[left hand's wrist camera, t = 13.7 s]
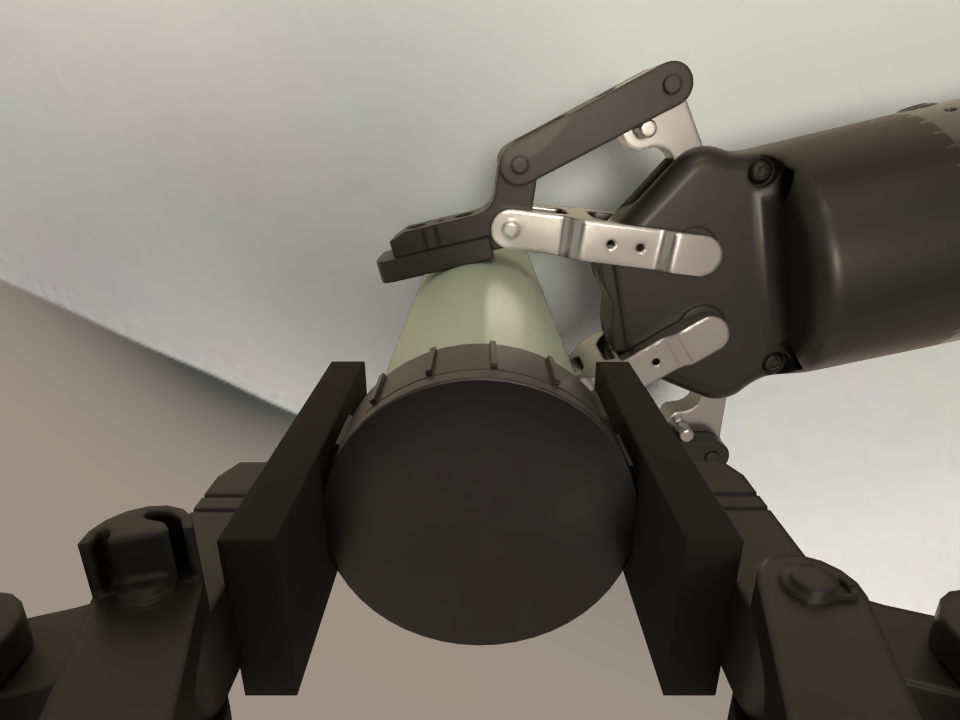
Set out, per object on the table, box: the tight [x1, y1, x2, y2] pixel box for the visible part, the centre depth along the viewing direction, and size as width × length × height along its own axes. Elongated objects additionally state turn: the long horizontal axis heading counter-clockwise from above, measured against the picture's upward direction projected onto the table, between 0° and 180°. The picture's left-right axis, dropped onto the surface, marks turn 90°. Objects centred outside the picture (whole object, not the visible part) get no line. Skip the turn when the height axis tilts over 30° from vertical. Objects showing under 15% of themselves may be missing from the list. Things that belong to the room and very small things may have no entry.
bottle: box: [385, 248, 576, 377], centre depth 19 cm, size 5×5×17 cm
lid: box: [323, 341, 638, 645], centre depth 11 cm, size 6×6×2 cm
